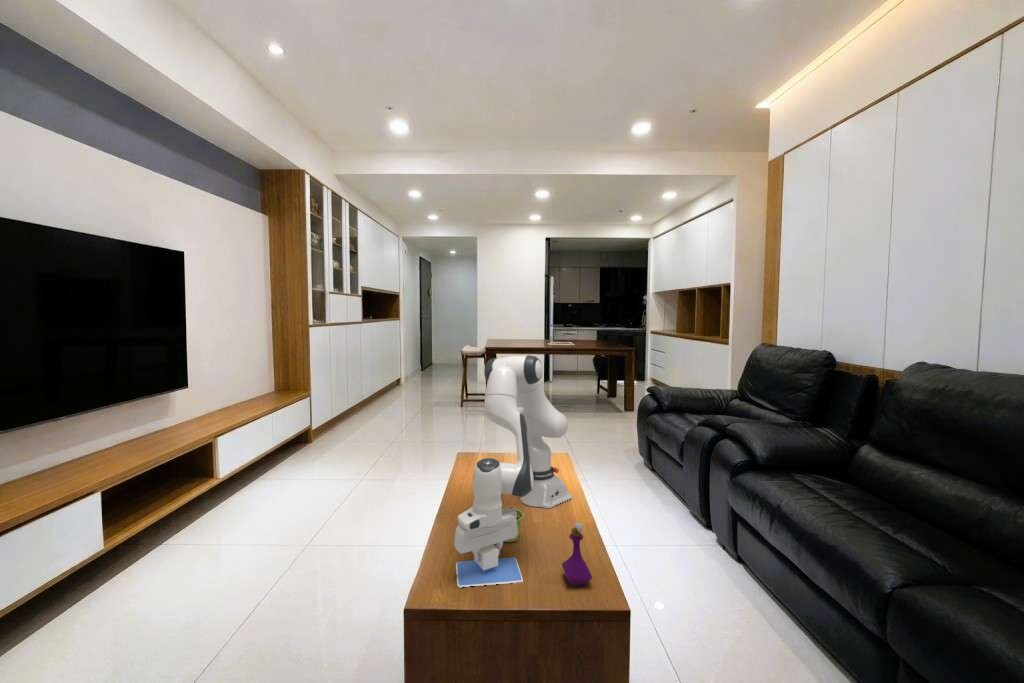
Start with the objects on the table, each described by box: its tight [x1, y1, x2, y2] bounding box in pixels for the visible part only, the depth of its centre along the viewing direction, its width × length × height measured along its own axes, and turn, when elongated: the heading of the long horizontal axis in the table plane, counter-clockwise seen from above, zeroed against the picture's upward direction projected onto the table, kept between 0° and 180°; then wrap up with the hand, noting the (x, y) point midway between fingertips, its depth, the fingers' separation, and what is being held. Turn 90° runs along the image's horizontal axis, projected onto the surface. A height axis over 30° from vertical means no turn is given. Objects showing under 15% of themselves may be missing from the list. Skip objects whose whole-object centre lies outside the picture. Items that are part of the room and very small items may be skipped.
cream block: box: [476, 544, 499, 571], centre depth 131 cm, size 5×5×5 cm
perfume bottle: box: [561, 522, 593, 586], centre depth 126 cm, size 8×8×18 cm
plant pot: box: [502, 507, 524, 543], centre depth 150 cm, size 9×9×9 cm
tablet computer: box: [455, 557, 524, 589], centre depth 130 cm, size 19×13×1 cm, turn 100°
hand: (486, 558), depth 131 cm, fingers closed on cream block, 5 cm apart
